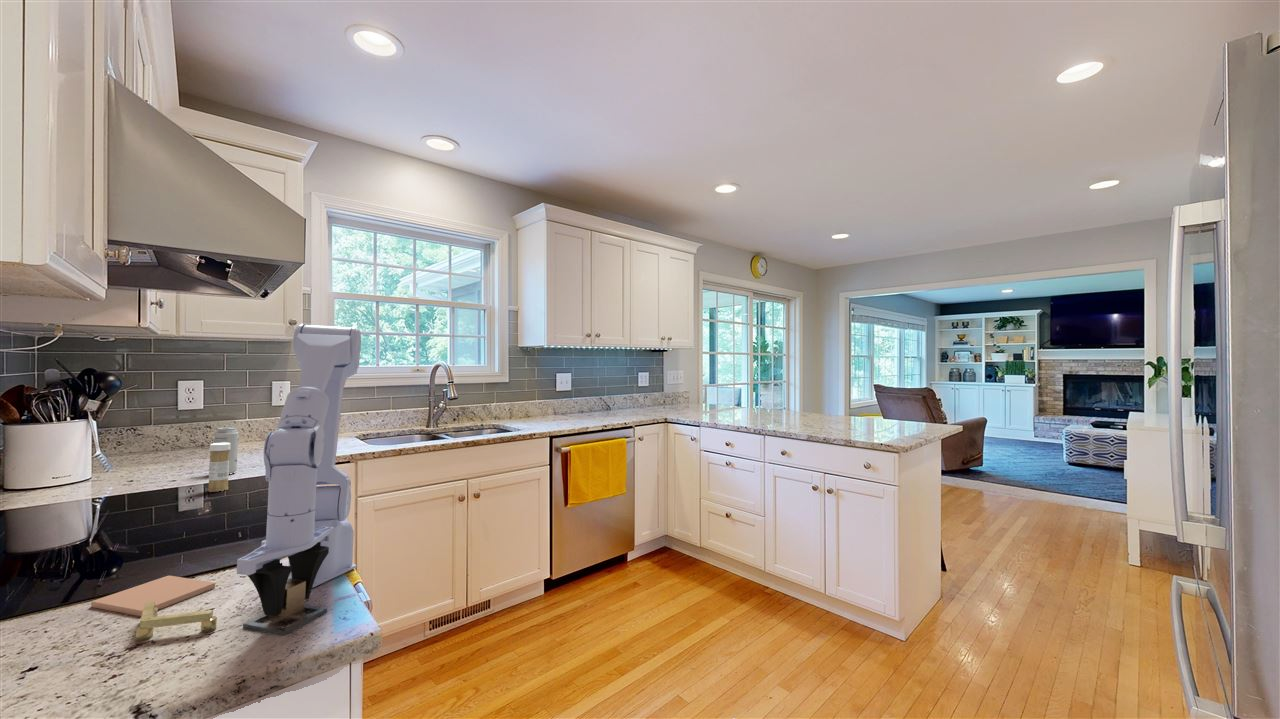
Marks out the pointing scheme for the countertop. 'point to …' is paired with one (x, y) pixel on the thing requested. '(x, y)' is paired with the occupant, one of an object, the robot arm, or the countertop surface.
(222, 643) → the countertop surface
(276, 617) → the grey window frame
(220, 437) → the energy drink can
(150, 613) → the brass bent rod
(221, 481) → the sprinkles bottle
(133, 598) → the tile
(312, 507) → the robot arm
